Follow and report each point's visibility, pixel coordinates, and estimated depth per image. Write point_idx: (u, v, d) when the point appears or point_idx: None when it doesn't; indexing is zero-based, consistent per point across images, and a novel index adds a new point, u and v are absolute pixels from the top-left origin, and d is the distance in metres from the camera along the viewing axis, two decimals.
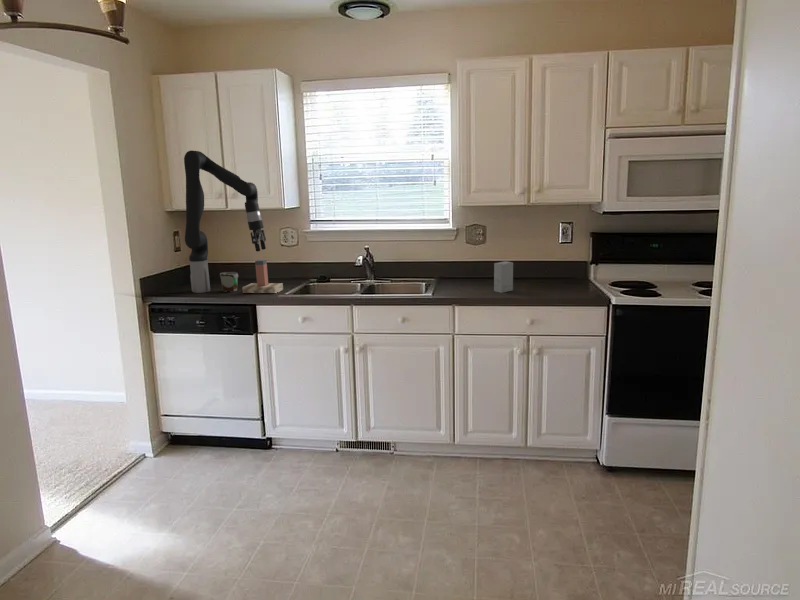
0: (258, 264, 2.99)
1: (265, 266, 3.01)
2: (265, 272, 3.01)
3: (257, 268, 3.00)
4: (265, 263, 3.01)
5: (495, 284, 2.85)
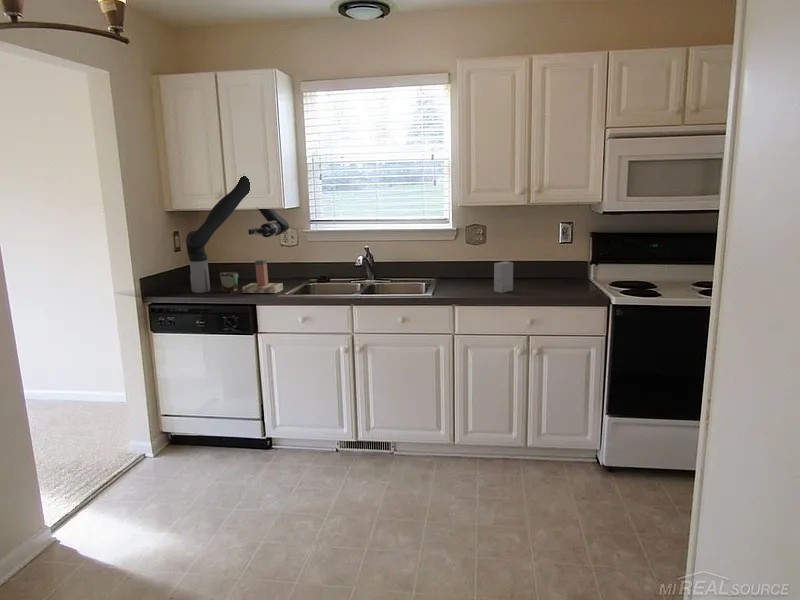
0: (258, 264, 2.99)
1: (265, 266, 3.01)
2: (265, 272, 3.01)
3: (257, 268, 3.00)
4: (265, 263, 3.01)
5: (495, 284, 2.85)
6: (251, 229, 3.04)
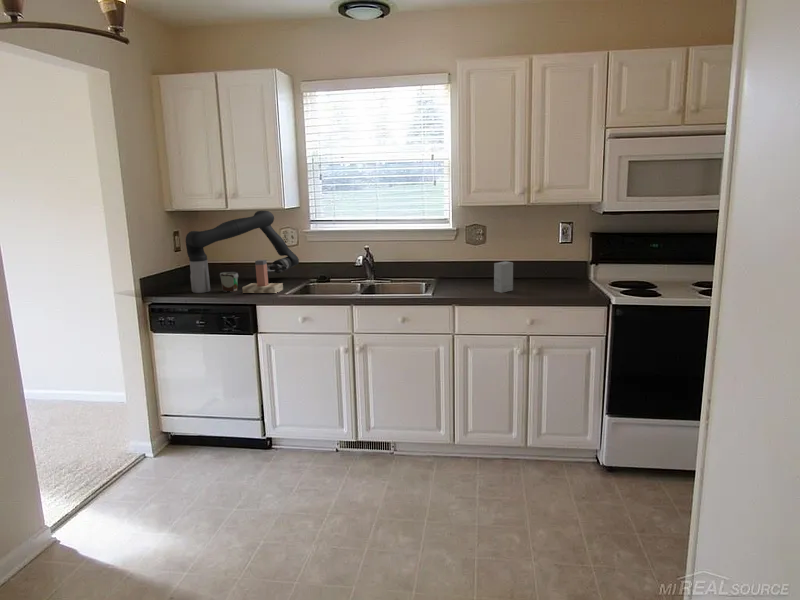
0: (258, 264, 2.99)
1: (265, 266, 3.01)
2: (265, 272, 3.01)
3: (257, 268, 3.00)
4: (265, 263, 3.01)
5: (495, 284, 2.85)
6: None
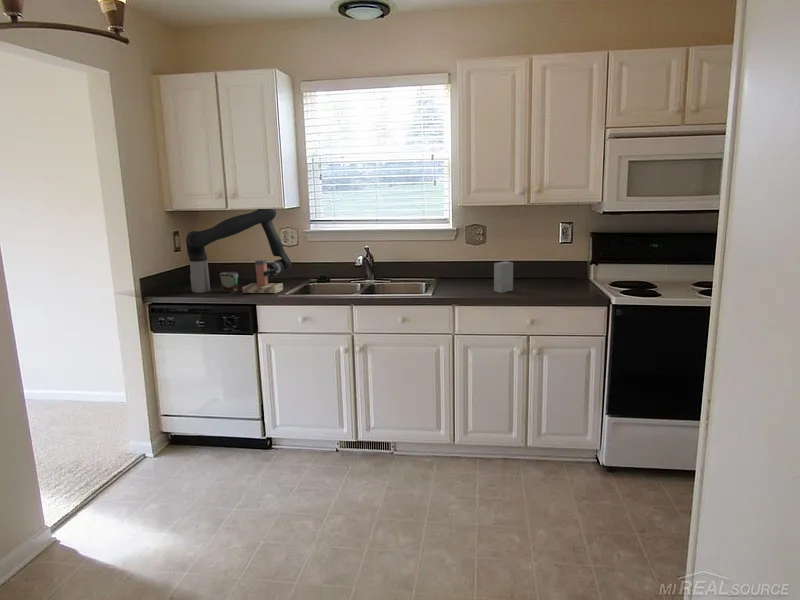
0: (258, 264, 2.99)
1: (265, 266, 3.01)
2: None
3: (257, 268, 3.00)
4: (265, 263, 3.01)
5: (495, 284, 2.85)
6: None
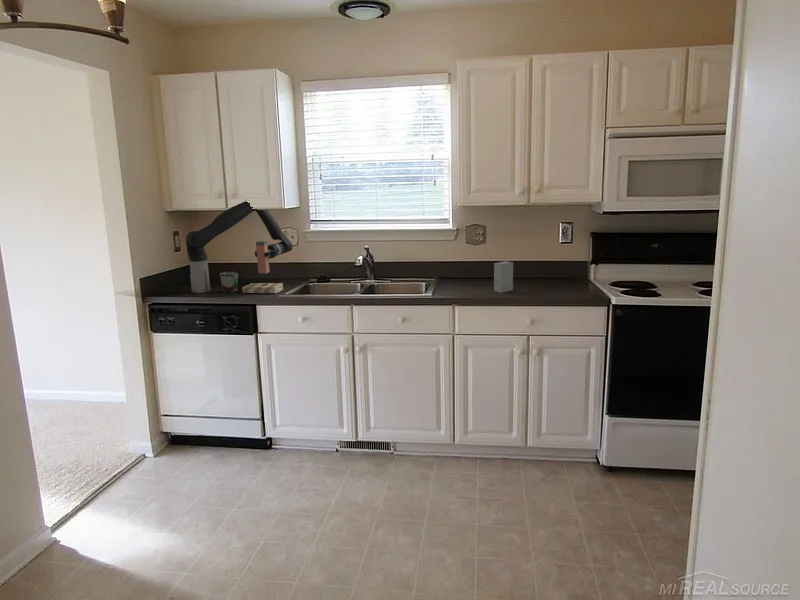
0: (259, 245, 3.00)
1: (266, 247, 3.02)
2: None
3: (258, 249, 3.01)
4: (266, 244, 3.02)
5: (495, 284, 2.85)
6: None
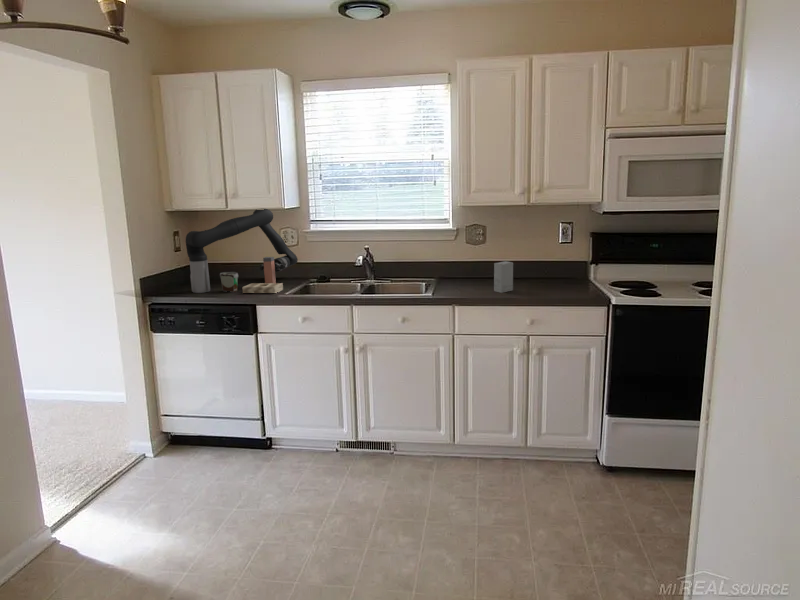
0: (266, 261, 3.11)
1: (273, 263, 3.14)
2: (273, 268, 3.14)
3: (265, 265, 3.12)
4: (273, 260, 3.14)
5: (495, 284, 2.85)
6: (262, 264, 3.19)
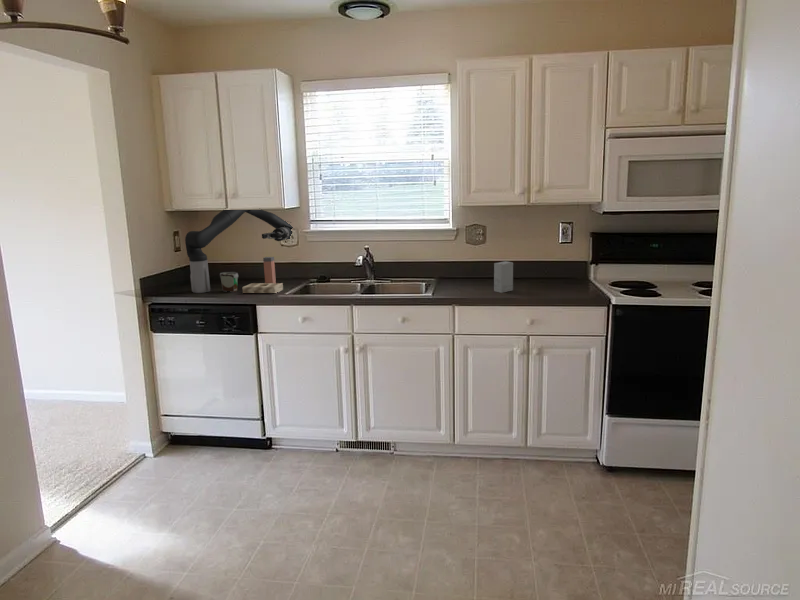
0: (266, 261, 3.11)
1: (273, 263, 3.14)
2: (273, 268, 3.14)
3: (265, 265, 3.12)
4: (273, 260, 3.14)
5: (495, 284, 2.85)
6: (264, 233, 3.22)
